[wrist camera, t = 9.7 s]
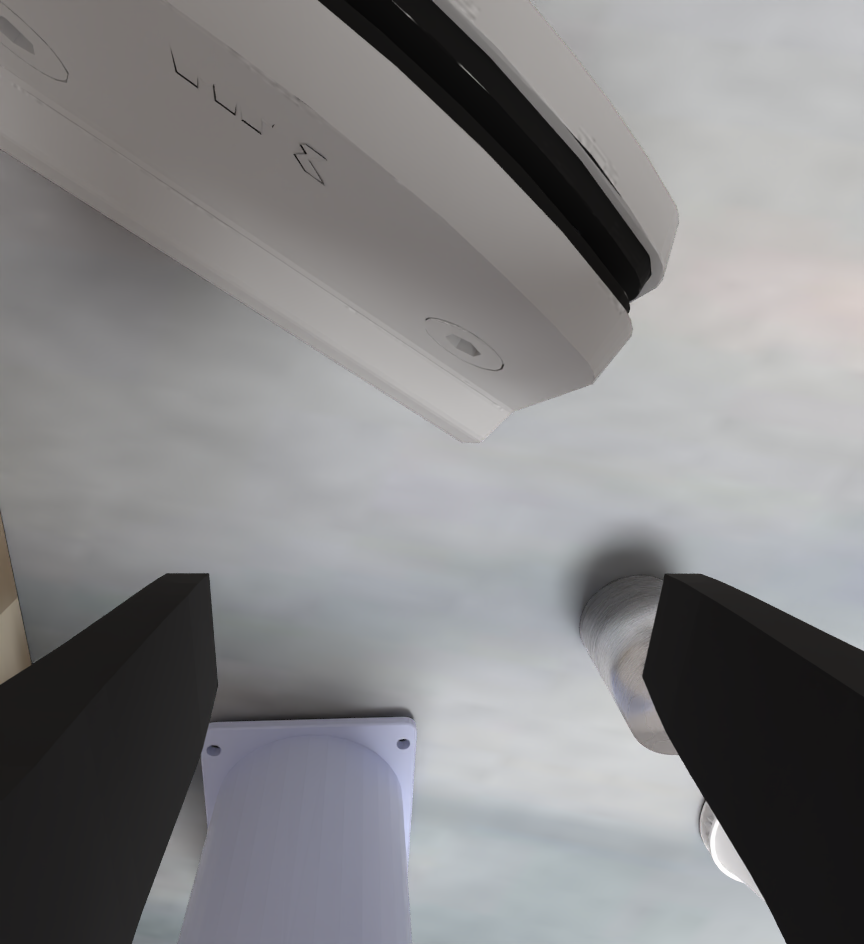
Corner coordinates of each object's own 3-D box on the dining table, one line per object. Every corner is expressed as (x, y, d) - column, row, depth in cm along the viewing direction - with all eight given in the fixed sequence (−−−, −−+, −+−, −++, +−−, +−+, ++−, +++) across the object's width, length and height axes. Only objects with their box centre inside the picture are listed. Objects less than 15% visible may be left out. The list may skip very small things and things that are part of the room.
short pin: (669, 663, 24) (735, 752, 19) (572, 665, 23) (618, 757, 19) (690, 574, 22) (766, 650, 18) (588, 574, 22) (640, 652, 18)
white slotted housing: (-64, 108, 15) (-634, -480, 5) (41, -40, 15) (-307, -827, 6) (471, 449, 20) (681, 462, 10) (540, 328, 20) (804, 229, 10)
